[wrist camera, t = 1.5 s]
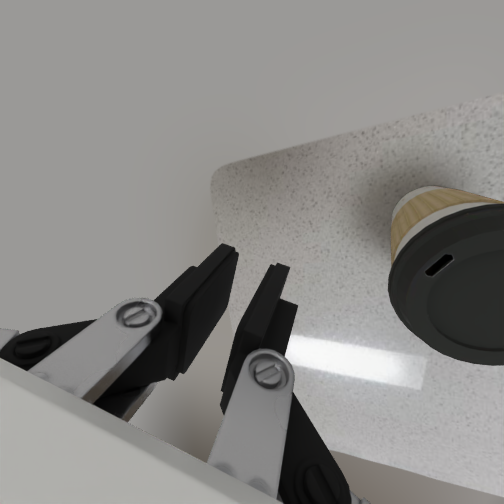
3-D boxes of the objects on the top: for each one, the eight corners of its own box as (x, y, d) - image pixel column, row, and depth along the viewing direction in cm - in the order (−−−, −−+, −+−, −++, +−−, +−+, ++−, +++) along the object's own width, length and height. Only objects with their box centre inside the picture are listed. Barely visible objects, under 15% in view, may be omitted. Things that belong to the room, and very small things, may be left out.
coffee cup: (427, 277, 29) (489, 399, 17) (352, 226, 30) (355, 308, 17) (515, 205, 24) (703, 299, 11) (424, 144, 25) (508, 170, 12)
